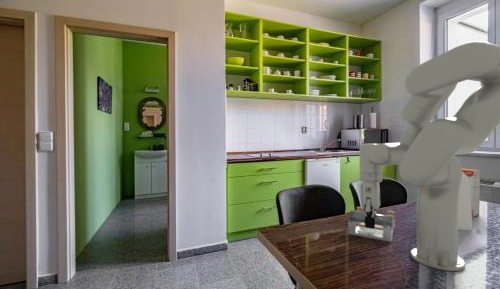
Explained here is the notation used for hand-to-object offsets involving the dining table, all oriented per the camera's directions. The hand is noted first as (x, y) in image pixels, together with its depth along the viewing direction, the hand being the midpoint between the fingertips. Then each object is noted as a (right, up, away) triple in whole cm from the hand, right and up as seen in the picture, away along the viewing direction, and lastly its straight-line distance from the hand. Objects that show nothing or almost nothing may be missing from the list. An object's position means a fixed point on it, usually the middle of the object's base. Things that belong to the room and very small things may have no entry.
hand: (370, 225), depth 93 cm
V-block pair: (0, -3, 0) cm, 3 cm away
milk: (+36, -3, +10) cm, 38 cm away
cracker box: (+53, -2, +25) cm, 59 cm away
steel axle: (0, +1, 0) cm, 1 cm away
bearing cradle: (+5, -3, +9) cm, 11 cm away
